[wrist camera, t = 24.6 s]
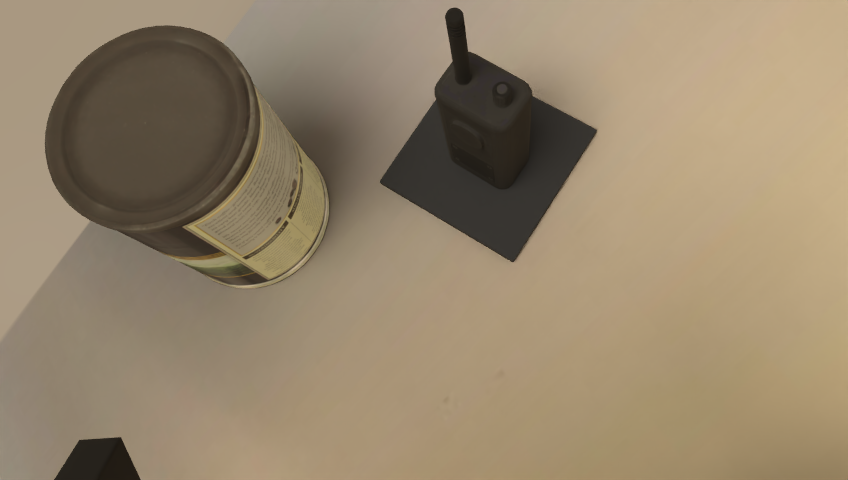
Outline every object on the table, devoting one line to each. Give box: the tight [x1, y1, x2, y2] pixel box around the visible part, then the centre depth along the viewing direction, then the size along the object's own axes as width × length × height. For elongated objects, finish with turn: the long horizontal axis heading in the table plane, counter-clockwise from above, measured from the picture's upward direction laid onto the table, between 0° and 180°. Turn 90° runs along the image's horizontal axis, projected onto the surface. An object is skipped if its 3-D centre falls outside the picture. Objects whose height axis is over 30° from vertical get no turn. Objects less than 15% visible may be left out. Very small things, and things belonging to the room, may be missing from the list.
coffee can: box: [45, 26, 329, 288], centre depth 39 cm, size 10×10×14 cm
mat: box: [380, 96, 597, 262], centre depth 45 cm, size 10×10×1 cm
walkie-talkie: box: [435, 8, 532, 189], centre depth 38 cm, size 5×3×15 cm
